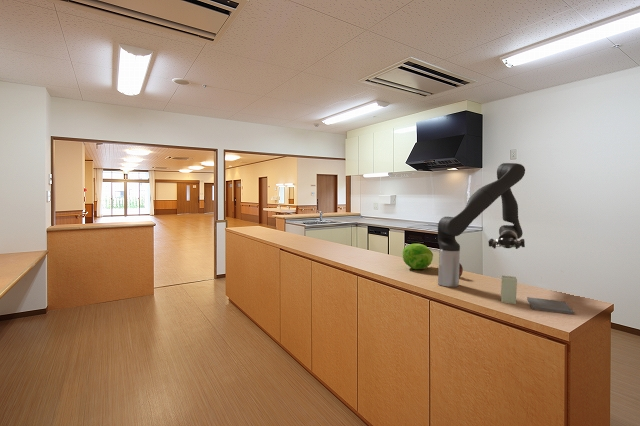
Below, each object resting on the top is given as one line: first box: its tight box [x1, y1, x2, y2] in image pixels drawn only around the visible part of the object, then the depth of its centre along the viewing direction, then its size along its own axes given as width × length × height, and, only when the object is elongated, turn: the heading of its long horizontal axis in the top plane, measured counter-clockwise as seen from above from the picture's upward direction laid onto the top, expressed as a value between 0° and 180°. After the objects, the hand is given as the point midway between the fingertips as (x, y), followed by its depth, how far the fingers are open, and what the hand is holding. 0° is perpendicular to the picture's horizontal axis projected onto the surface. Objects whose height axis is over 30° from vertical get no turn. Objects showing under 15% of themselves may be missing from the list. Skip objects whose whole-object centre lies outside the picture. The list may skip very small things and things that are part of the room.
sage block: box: [500, 275, 518, 305], centre depth 134 cm, size 5×5×10 cm
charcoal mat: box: [526, 296, 575, 315], centre depth 128 cm, size 13×13×1 cm
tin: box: [459, 262, 464, 278], centre depth 177 cm, size 15×3×8 cm, turn 21°
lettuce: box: [402, 243, 434, 270], centre depth 194 cm, size 17×20×15 cm
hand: (505, 246), depth 143 cm, fingers open, 8 cm apart
